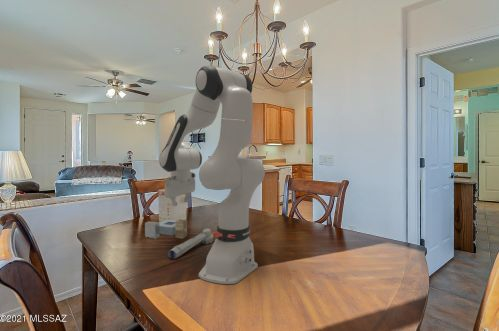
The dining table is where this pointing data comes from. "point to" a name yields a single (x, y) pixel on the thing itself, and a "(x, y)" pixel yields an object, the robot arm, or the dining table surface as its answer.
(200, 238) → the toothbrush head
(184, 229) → the block
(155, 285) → the dining table surface
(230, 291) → the dining table surface
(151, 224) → the pale grey block
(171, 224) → the bore block
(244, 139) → the robot arm
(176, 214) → the coffeecake box
